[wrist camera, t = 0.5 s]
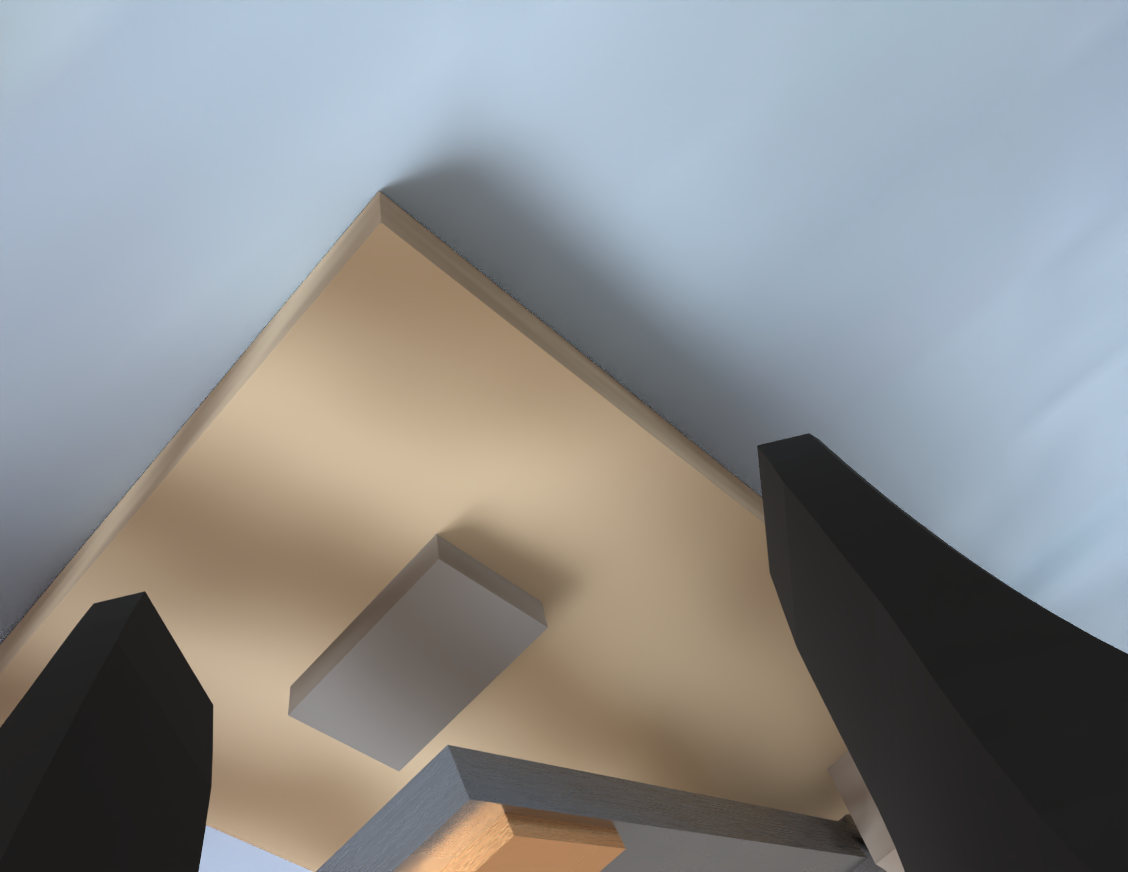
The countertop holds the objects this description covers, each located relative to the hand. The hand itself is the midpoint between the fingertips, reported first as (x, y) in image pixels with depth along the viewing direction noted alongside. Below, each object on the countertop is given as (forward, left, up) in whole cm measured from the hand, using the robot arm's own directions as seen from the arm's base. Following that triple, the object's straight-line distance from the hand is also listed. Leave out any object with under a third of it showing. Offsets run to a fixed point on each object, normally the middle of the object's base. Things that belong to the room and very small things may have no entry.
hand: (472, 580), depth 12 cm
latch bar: (-6, -10, -5) cm, 13 cm away
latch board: (-6, -9, -10) cm, 15 cm away
